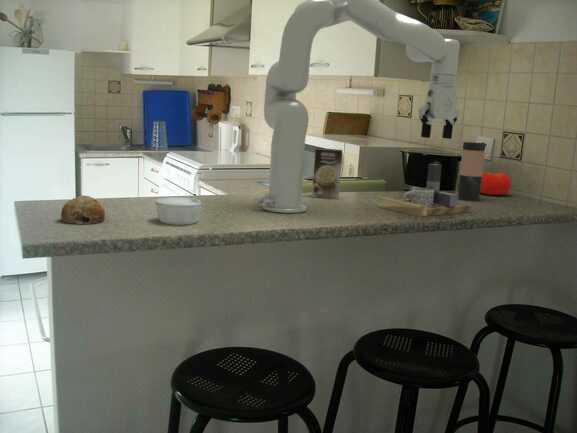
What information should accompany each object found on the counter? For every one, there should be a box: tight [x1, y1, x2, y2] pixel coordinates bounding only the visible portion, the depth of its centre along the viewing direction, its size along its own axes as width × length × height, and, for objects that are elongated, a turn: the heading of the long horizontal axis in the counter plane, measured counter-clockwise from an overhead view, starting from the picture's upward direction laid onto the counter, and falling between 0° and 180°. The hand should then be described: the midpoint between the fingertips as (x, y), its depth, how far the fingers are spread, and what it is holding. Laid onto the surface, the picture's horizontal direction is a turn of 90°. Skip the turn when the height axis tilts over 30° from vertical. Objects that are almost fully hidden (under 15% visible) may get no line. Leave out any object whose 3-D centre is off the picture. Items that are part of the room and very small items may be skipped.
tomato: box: [480, 171, 512, 197], centre depth 240 cm, size 13×12×8 cm
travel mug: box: [457, 141, 486, 202], centre depth 222 cm, size 8×8×20 cm
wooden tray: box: [378, 196, 474, 218], centre depth 196 cm, size 24×17×3 cm
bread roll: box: [60, 195, 106, 226], centre depth 152 cm, size 10×10×8 cm
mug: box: [402, 187, 434, 208], centre depth 194 cm, size 10×7×7 cm
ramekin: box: [155, 197, 202, 226], centre depth 157 cm, size 11×11×5 cm
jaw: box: [407, 163, 458, 207], centre depth 197 cm, size 3×17×12 cm, turn 35°
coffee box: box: [311, 147, 343, 200], centre depth 210 cm, size 9×6×16 cm
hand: (436, 137), depth 194 cm, fingers open, 9 cm apart
